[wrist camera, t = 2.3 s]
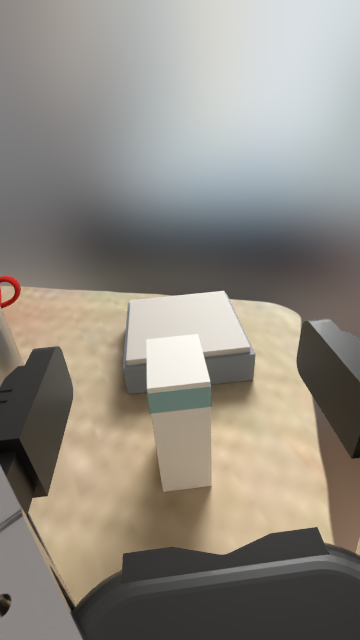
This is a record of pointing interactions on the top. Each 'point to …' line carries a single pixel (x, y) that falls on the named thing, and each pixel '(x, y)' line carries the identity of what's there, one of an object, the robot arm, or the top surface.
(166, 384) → the carton
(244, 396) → the top surface
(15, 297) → the ceramic cup
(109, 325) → the top surface
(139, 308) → the podium
